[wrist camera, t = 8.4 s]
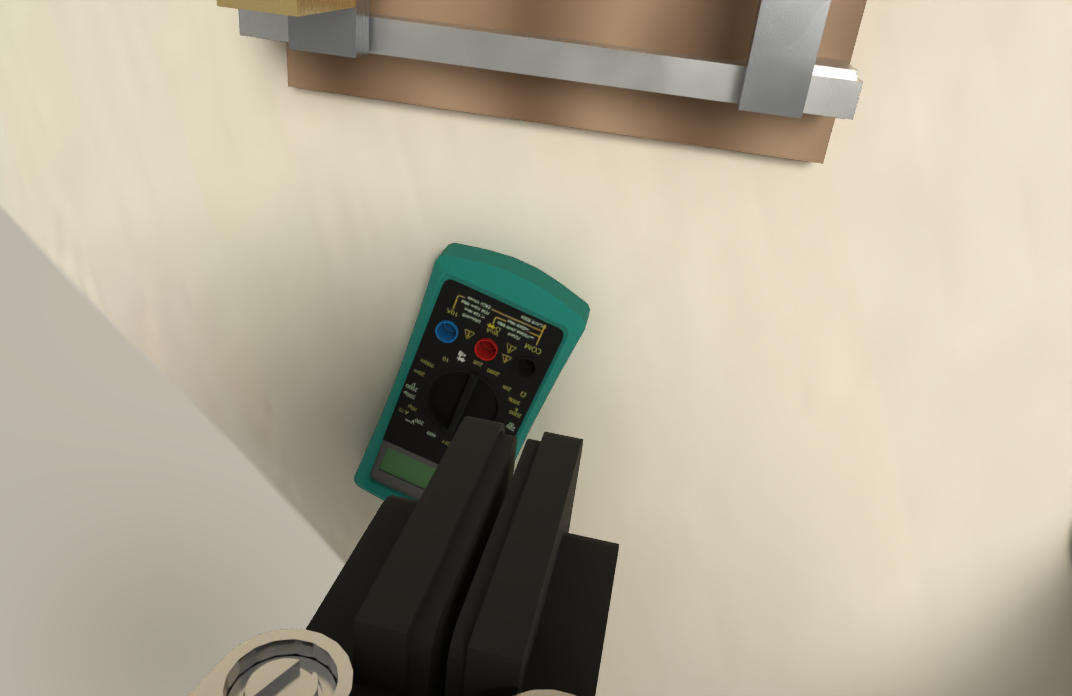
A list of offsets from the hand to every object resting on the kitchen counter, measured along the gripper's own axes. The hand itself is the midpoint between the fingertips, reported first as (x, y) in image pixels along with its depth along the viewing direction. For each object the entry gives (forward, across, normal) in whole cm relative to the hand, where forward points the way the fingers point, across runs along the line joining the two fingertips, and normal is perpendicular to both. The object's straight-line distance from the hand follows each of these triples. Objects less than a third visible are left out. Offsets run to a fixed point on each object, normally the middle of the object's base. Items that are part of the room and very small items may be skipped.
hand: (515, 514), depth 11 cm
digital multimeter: (+26, +7, +13) cm, 30 cm away
